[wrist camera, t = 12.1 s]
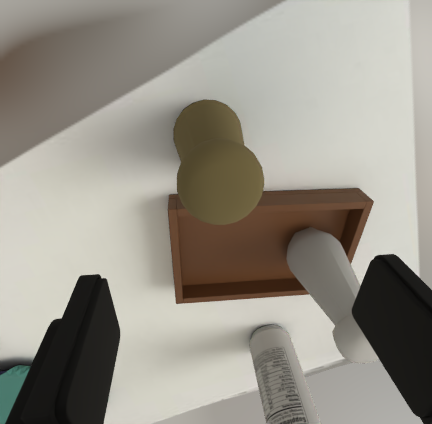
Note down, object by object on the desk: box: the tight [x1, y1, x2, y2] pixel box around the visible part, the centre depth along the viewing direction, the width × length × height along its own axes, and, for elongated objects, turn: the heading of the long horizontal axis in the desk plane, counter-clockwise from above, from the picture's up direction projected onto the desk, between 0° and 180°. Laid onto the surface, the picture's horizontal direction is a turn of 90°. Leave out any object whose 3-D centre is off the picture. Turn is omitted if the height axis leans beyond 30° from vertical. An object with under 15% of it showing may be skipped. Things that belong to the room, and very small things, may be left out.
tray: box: [168, 188, 374, 304], centre depth 30 cm, size 20×13×3 cm, turn 89°
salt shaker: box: [286, 227, 379, 363], centre depth 26 cm, size 6×6×13 cm
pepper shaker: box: [174, 100, 264, 225], centre depth 20 cm, size 6×6×11 cm
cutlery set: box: [0, 365, 31, 424], centre depth 40 cm, size 20×30×2 cm, turn 28°
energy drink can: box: [249, 325, 321, 424], centre depth 35 cm, size 6×6×15 cm
